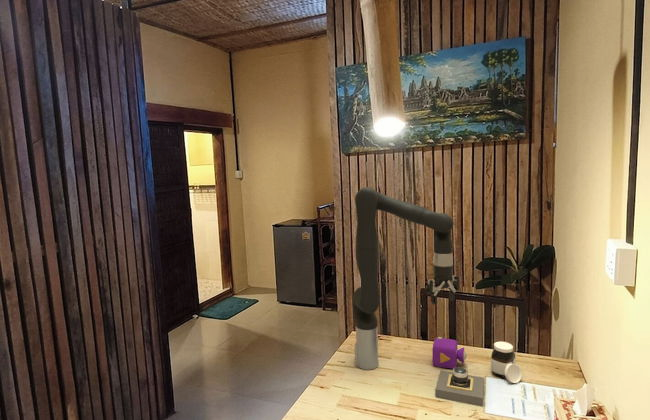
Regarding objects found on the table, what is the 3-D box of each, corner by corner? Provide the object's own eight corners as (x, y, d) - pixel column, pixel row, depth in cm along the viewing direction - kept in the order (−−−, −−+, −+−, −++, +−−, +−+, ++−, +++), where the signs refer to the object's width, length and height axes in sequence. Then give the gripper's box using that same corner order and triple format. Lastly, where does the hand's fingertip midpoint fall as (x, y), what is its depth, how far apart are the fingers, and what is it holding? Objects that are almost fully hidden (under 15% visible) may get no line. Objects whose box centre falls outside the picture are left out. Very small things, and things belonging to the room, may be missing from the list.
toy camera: (468, 371, 160) (468, 348, 158) (433, 369, 162) (432, 346, 161) (464, 358, 170) (464, 336, 169) (431, 356, 173) (431, 334, 172)
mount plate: (435, 397, 143) (435, 387, 143) (440, 377, 156) (440, 369, 156) (482, 406, 137) (482, 396, 137) (484, 385, 150) (484, 376, 149)
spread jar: (498, 365, 164) (498, 338, 162) (527, 374, 156) (528, 346, 154) (485, 376, 156) (486, 348, 154) (515, 387, 147) (516, 358, 146)
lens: (451, 393, 145) (451, 372, 144) (453, 385, 150) (453, 365, 149) (467, 396, 143) (467, 375, 142) (468, 388, 148) (468, 367, 147)
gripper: (434, 267, 152) (434, 308, 154) (463, 263, 157) (463, 302, 159) (422, 263, 159) (422, 302, 161) (451, 259, 164) (451, 297, 166)
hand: (442, 302), depth 160 cm, fingers open, 8 cm apart
